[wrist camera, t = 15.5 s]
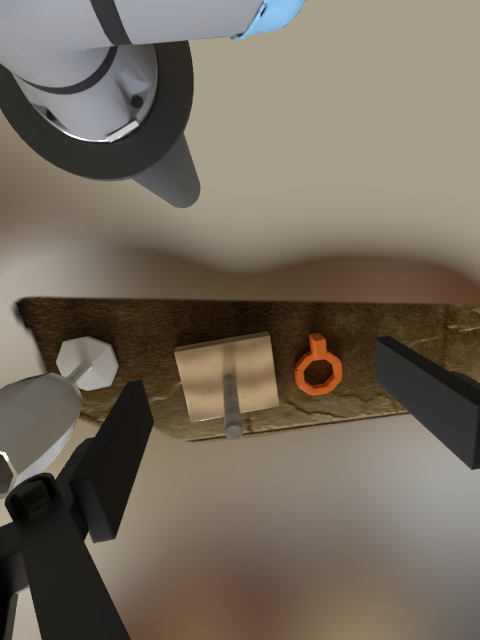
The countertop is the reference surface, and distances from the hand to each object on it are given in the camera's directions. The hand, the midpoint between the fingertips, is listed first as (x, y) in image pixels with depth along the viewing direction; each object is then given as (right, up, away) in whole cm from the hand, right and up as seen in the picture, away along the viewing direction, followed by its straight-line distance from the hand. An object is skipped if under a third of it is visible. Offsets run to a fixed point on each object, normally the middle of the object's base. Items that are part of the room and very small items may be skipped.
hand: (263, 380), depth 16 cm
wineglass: (-24, -3, +27) cm, 36 cm away
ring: (+11, -3, +30) cm, 32 cm away
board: (-3, -5, +29) cm, 30 cm away
